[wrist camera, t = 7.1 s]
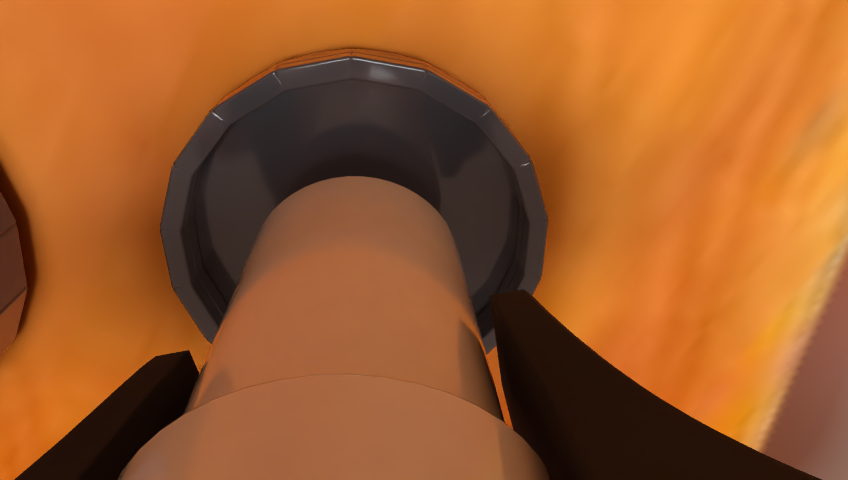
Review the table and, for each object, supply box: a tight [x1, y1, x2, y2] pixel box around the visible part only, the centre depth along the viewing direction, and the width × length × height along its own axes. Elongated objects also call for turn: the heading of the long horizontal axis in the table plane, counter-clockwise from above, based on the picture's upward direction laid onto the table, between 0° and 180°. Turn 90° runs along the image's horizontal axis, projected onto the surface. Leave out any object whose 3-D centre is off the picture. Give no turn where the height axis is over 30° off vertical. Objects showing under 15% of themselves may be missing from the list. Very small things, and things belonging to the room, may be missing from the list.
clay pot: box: [118, 176, 553, 480], centre depth 10 cm, size 6×6×9 cm
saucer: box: [160, 49, 548, 355], centre depth 15 cm, size 9×10×2 cm
